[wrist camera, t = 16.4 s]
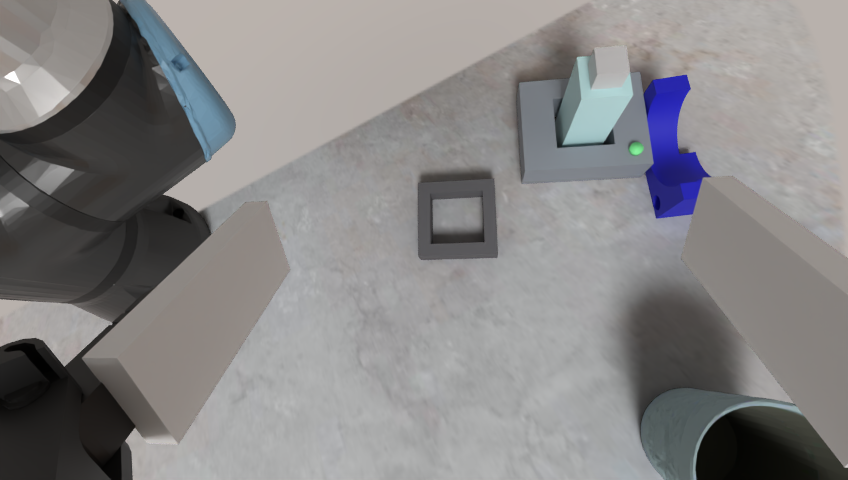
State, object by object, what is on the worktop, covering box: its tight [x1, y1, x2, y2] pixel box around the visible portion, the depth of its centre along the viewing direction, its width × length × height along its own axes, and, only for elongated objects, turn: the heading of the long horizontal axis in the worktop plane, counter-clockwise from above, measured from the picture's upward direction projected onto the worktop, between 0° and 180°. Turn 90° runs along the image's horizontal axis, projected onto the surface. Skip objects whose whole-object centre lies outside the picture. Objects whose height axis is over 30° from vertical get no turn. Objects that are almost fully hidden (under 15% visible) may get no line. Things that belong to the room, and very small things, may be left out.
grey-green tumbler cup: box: [641, 388, 848, 480], centre depth 30 cm, size 10×10×12 cm
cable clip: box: [644, 75, 711, 218], centre depth 39 cm, size 12×4×6 cm, turn 5°
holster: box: [418, 179, 498, 260], centre depth 43 cm, size 8×8×2 cm
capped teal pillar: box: [555, 45, 633, 148], centre depth 38 cm, size 4×4×13 cm
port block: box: [516, 72, 654, 184], centre depth 42 cm, size 12×10×4 cm
